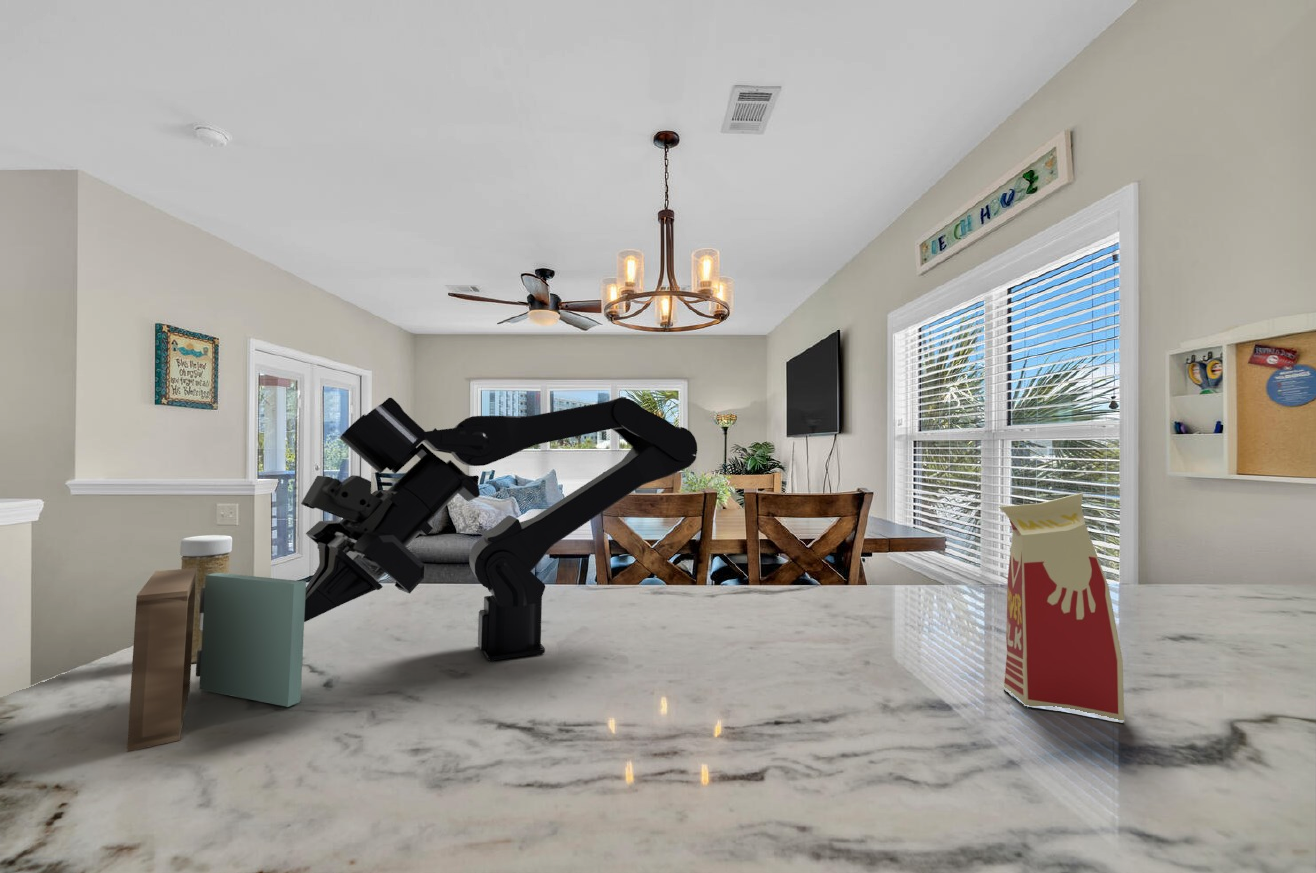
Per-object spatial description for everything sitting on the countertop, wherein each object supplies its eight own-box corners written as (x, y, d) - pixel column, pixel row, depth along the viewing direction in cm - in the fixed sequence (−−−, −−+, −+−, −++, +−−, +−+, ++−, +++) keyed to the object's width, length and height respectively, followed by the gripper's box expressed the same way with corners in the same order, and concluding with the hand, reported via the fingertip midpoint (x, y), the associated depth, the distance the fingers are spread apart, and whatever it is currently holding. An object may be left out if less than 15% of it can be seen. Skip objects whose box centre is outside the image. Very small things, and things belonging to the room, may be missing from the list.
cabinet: (189, 690, 53) (196, 568, 54) (178, 740, 44) (187, 590, 45) (147, 697, 52) (155, 571, 52) (126, 751, 42) (136, 595, 43)
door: (204, 683, 55) (211, 571, 55) (300, 701, 51) (306, 581, 51) (191, 687, 54) (197, 574, 54) (288, 706, 50) (294, 584, 50)
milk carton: (1099, 688, 57) (1093, 491, 58) (1131, 726, 49) (1123, 495, 50) (995, 673, 61) (992, 489, 62) (1008, 706, 52) (1003, 492, 53)
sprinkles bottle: (224, 659, 62) (230, 537, 63) (170, 667, 59) (177, 540, 60) (227, 648, 66) (234, 533, 67) (177, 654, 63) (184, 535, 64)
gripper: (331, 450, 65) (203, 555, 56) (396, 448, 52) (243, 584, 43) (398, 515, 70) (290, 621, 61) (472, 528, 57) (349, 664, 48)
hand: (292, 621), depth 53 cm, fingers closed
